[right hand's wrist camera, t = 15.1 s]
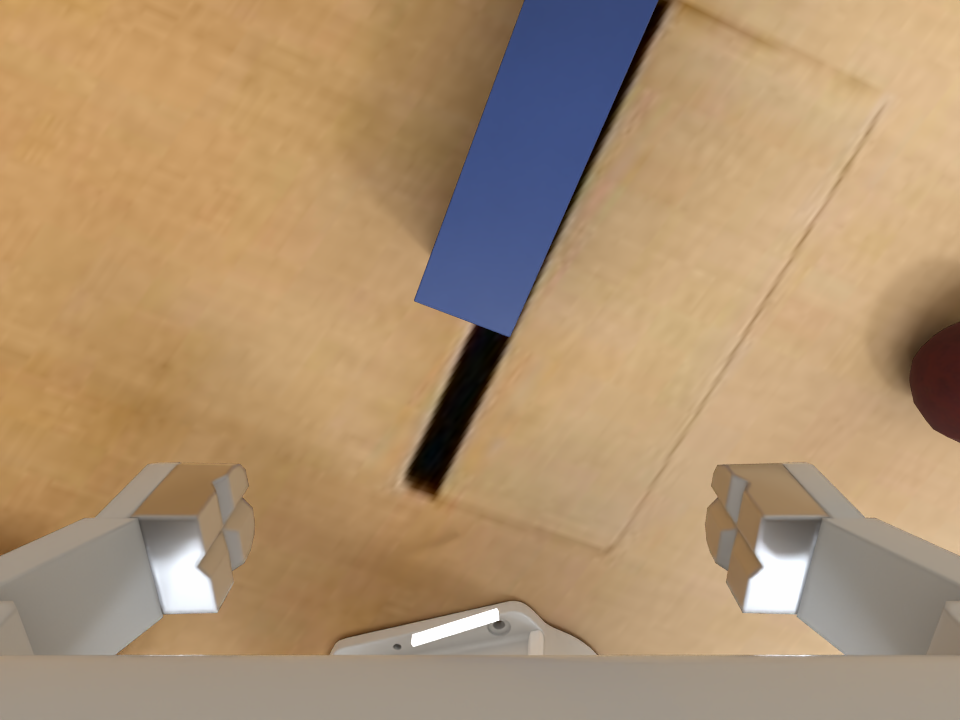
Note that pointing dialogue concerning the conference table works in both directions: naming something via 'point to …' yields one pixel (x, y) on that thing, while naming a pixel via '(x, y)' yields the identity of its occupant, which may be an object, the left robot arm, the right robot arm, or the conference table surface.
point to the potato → (939, 381)
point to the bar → (529, 154)
